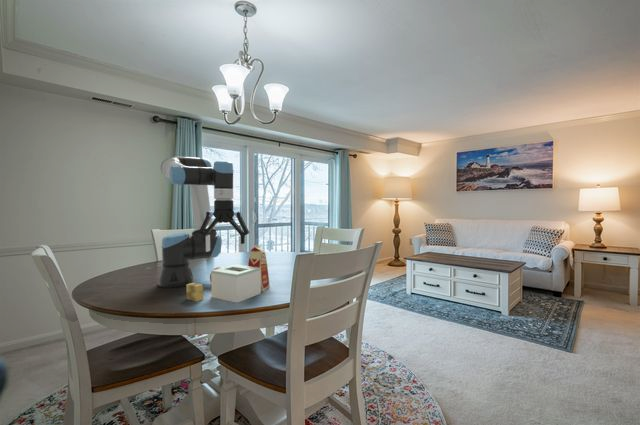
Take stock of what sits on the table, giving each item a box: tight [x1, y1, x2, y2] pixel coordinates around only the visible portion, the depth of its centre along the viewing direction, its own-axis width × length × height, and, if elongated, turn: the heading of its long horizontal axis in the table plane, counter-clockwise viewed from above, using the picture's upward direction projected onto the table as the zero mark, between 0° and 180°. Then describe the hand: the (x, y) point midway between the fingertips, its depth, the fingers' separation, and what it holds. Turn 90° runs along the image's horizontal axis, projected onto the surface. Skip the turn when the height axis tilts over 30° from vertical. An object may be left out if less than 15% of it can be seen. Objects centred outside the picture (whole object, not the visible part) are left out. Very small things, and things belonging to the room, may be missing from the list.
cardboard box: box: [185, 282, 204, 302], centre depth 133 cm, size 6×3×6 cm, turn 61°
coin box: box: [210, 263, 262, 303], centre depth 138 cm, size 14×14×11 cm
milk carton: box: [247, 244, 271, 292], centre depth 149 cm, size 9×9×20 cm
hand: (224, 251), depth 137 cm, fingers open, 13 cm apart
